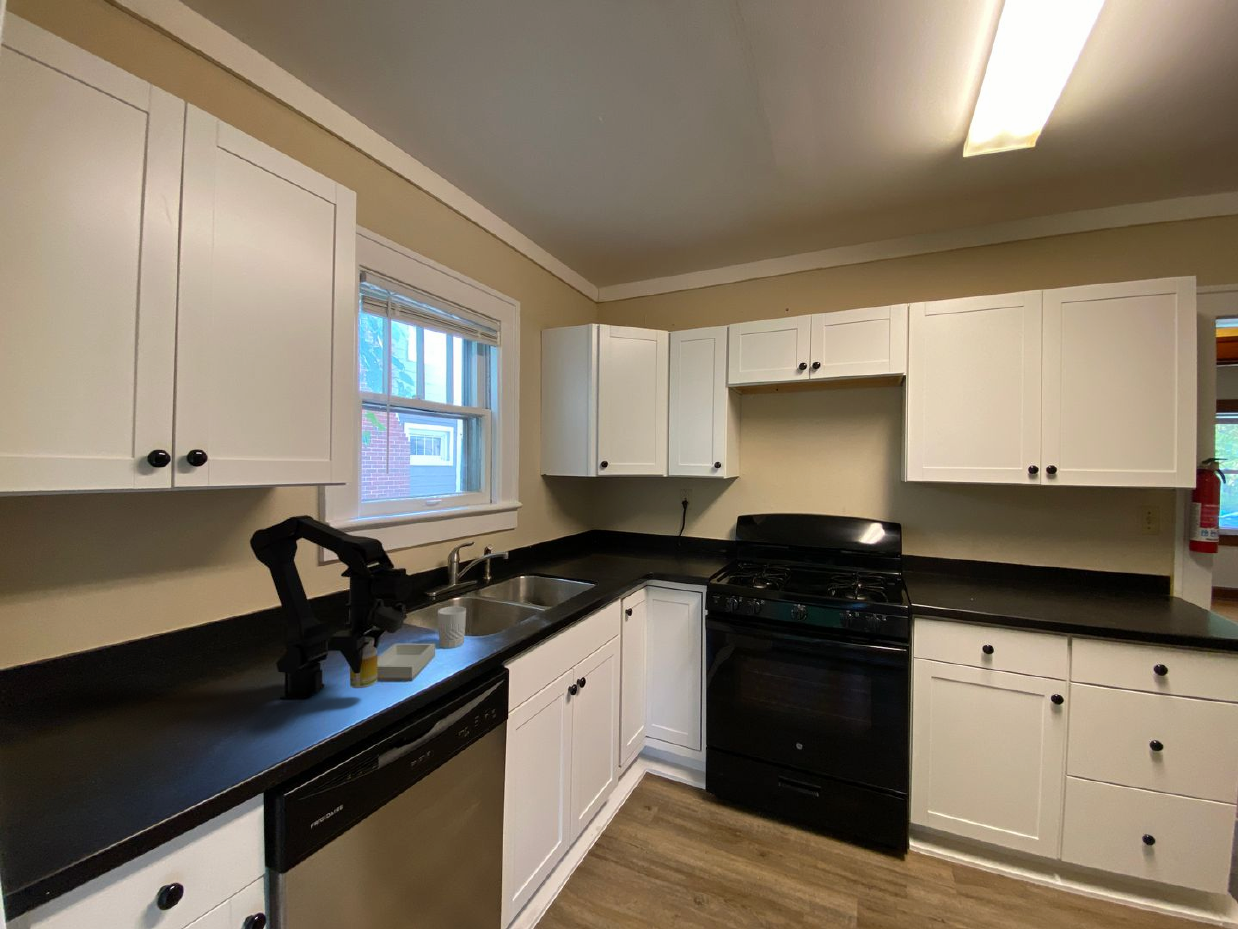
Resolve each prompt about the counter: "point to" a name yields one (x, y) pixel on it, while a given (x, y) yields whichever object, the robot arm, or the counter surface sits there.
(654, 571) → the counter surface
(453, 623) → the white cup
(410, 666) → the box
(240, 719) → the counter surface
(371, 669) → the supplement bottle
